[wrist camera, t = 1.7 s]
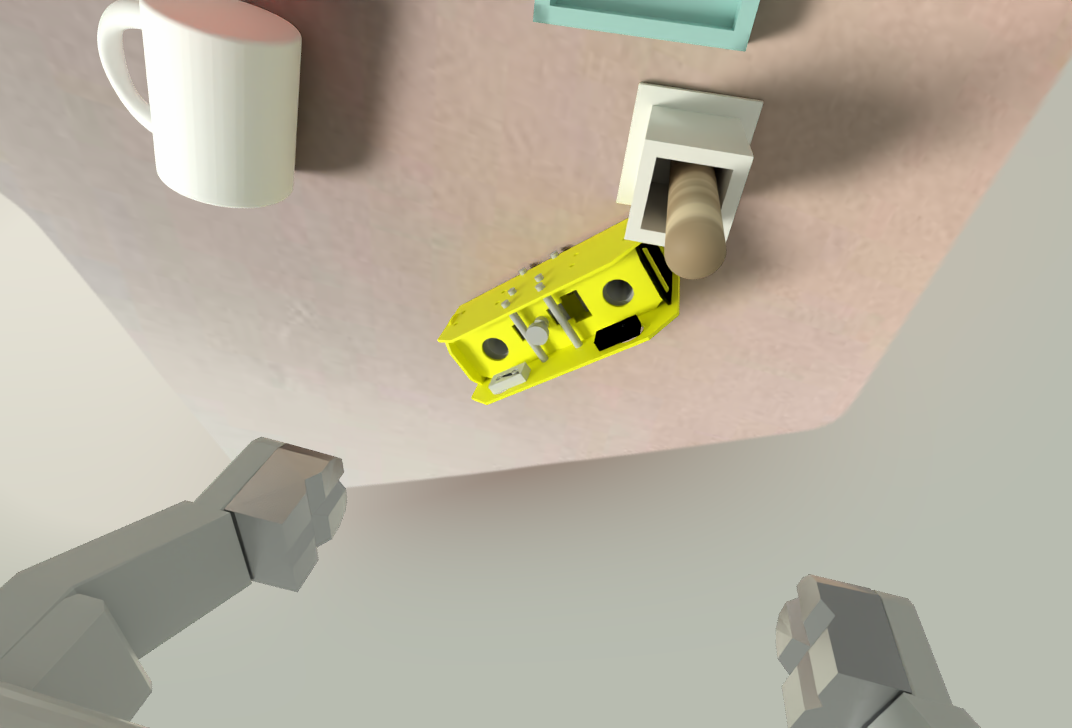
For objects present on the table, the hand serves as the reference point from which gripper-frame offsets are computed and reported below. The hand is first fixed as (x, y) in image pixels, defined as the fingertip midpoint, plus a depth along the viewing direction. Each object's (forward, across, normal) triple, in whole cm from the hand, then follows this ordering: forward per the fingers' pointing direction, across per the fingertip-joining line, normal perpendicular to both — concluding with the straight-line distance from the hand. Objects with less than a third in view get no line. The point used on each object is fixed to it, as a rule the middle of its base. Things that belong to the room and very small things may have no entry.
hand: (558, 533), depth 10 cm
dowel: (+30, -3, 0) cm, 30 cm away
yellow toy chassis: (+31, +4, +11) cm, 33 cm away
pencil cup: (+30, -2, 0) cm, 30 cm away
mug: (+30, +28, 0) cm, 41 cm away
